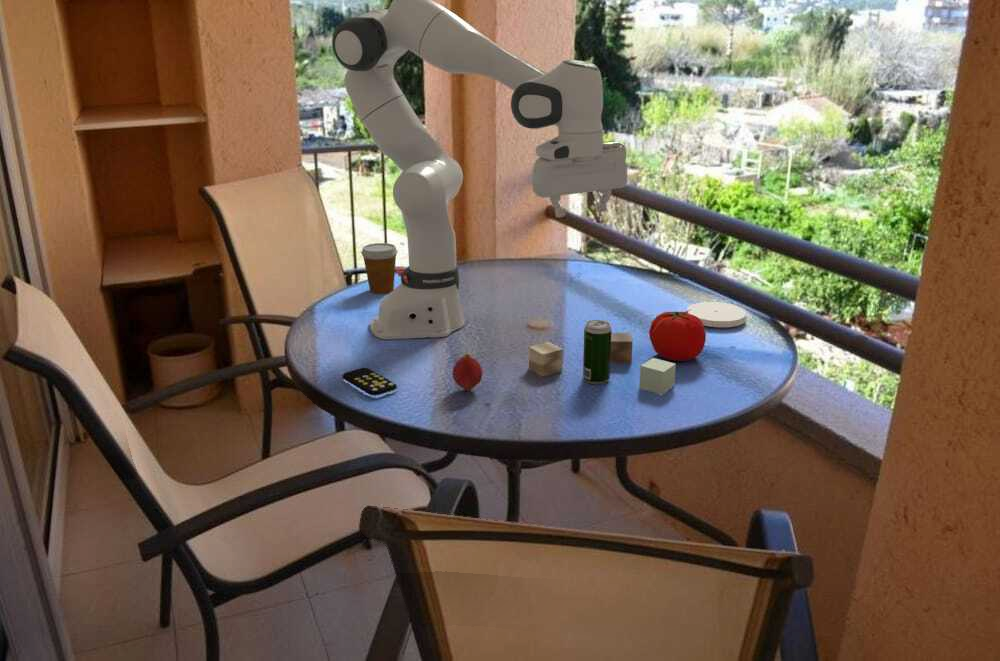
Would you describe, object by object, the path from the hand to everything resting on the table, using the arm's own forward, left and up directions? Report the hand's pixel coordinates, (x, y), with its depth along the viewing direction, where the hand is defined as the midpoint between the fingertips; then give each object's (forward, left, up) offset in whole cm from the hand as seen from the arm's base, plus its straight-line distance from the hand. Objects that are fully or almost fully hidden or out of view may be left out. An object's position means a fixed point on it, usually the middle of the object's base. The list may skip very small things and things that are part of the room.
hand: (580, 213), depth 172 cm
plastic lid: (+39, +10, -31) cm, 51 cm away
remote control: (-46, -3, -32) cm, 56 cm away
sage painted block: (+8, -21, -31) cm, 39 cm away
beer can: (-2, -14, -31) cm, 34 cm away
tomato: (+19, -8, -31) cm, 38 cm away
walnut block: (+7, -5, -31) cm, 32 cm away
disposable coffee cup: (-34, +58, -31) cm, 74 cm away
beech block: (-10, -6, -31) cm, 33 cm away
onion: (-28, -11, -31) cm, 43 cm away
